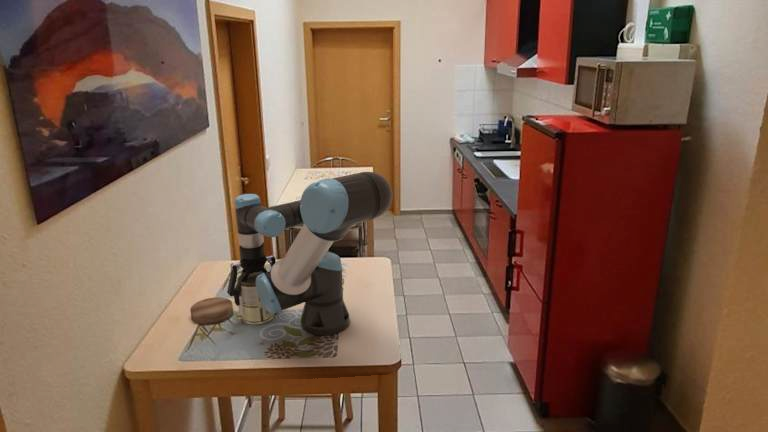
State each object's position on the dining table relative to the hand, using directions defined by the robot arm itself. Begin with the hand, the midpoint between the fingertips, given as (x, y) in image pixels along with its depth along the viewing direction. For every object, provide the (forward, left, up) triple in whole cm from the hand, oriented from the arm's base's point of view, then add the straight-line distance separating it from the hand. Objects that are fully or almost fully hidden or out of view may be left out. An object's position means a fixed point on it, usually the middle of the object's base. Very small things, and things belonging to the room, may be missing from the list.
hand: (257, 309), depth 170 cm
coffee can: (0, 0, -3) cm, 3 cm away
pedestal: (+10, +12, -3) cm, 16 cm away
